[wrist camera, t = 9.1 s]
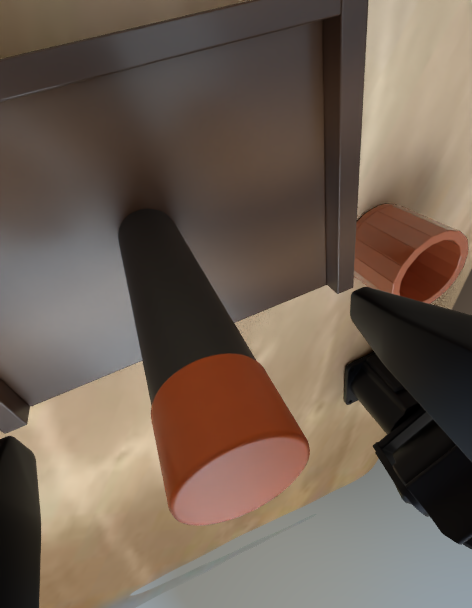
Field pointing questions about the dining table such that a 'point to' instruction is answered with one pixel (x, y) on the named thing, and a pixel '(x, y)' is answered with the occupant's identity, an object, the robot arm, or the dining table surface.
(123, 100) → the dark wooden box
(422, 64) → the dining table surface
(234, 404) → the marker
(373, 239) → the pen cup
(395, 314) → the robot arm
